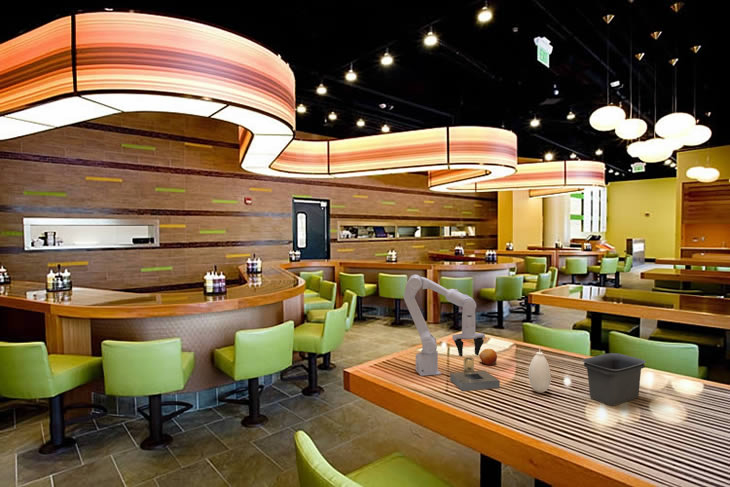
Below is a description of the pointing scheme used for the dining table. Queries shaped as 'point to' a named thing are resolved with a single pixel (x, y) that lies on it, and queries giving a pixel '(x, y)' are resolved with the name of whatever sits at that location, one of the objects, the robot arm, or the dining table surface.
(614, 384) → the storage bin
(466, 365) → the bushing
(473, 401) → the dining table surface
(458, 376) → the jig
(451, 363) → the dining table surface
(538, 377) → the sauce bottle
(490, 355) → the fruit
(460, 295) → the robot arm
